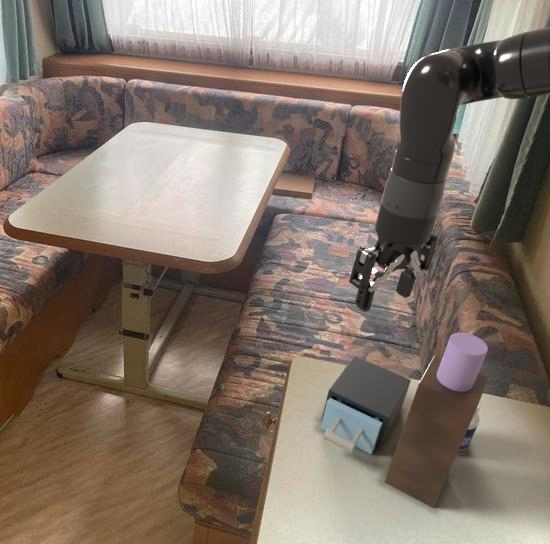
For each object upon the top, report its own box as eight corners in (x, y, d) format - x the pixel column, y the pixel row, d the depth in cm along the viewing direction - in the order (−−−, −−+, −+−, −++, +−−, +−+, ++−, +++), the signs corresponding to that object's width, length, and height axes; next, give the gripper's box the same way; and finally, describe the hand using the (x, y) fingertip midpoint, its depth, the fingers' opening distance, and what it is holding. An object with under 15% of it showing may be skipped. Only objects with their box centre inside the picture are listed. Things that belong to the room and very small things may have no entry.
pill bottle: (431, 454, 89) (449, 409, 84) (427, 429, 93) (444, 384, 88) (468, 462, 88) (489, 417, 83) (462, 436, 93) (482, 391, 87)
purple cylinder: (476, 378, 74) (491, 341, 71) (468, 397, 71) (483, 359, 68) (441, 364, 76) (454, 328, 73) (432, 381, 73) (445, 345, 70)
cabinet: (377, 453, 89) (389, 418, 85) (320, 424, 93) (328, 389, 89) (399, 413, 96) (411, 379, 92) (345, 388, 101) (354, 355, 97)
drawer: (359, 475, 84) (368, 447, 81) (307, 447, 88) (313, 420, 85) (391, 418, 94) (400, 391, 91) (343, 395, 98) (350, 369, 95)
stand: (444, 478, 85) (489, 377, 75) (431, 511, 80) (476, 407, 70) (398, 455, 89) (434, 355, 78) (382, 486, 84) (419, 382, 73)
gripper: (393, 225, 73) (366, 327, 81) (466, 206, 79) (434, 302, 88) (352, 202, 78) (330, 300, 87) (423, 185, 85) (397, 278, 93)
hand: (382, 301), depth 87 cm, fingers open, 8 cm apart
